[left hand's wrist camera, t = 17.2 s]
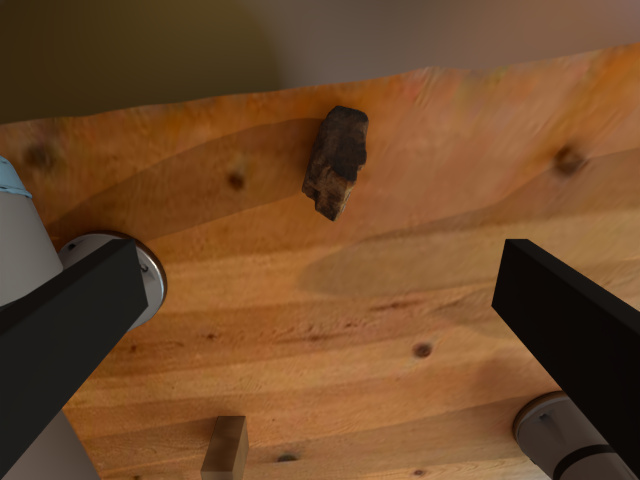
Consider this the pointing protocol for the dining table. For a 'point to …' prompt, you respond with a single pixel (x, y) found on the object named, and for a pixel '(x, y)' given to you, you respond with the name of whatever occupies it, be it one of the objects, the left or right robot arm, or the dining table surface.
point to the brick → (227, 450)
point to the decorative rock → (336, 160)
